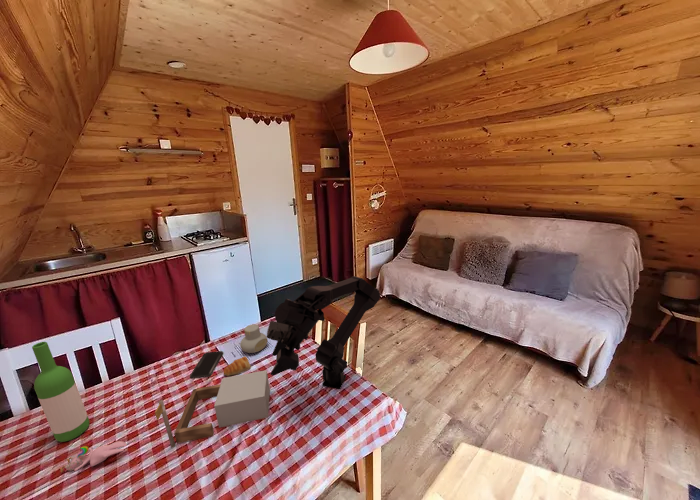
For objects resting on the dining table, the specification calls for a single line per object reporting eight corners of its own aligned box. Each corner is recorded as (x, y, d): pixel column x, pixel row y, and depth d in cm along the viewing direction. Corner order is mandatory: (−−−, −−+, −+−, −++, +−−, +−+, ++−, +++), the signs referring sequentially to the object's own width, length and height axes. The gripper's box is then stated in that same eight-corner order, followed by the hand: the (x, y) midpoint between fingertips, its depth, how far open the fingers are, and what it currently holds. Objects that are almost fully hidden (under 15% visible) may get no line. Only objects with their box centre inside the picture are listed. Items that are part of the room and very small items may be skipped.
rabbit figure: (59, 483, 75) (121, 462, 77) (47, 466, 73) (111, 445, 75) (76, 460, 81) (134, 441, 82) (65, 444, 79) (124, 425, 81)
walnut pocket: (225, 392, 100) (217, 354, 96) (209, 448, 80) (198, 403, 76) (191, 398, 99) (182, 360, 94) (166, 457, 78) (153, 411, 74)
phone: (223, 350, 123) (210, 375, 108) (224, 353, 123) (210, 377, 109) (204, 352, 122) (188, 377, 108) (204, 355, 123) (188, 379, 108)
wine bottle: (63, 427, 90) (28, 341, 82) (94, 417, 93) (64, 333, 85) (50, 448, 83) (11, 356, 75) (84, 437, 86) (50, 347, 78)
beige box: (270, 390, 101) (266, 370, 98) (268, 417, 89) (264, 396, 87) (226, 398, 98) (222, 378, 96) (219, 428, 87) (214, 406, 84)
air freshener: (251, 358, 118) (248, 336, 115) (237, 353, 122) (233, 331, 119) (271, 344, 127) (268, 323, 124) (258, 339, 131) (254, 319, 128)
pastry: (227, 380, 106) (225, 371, 105) (221, 372, 111) (219, 363, 110) (252, 368, 112) (250, 360, 111) (245, 360, 117) (244, 352, 116)
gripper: (280, 299, 96) (253, 335, 98) (278, 331, 78) (245, 375, 80) (308, 315, 99) (281, 350, 101) (312, 349, 82) (280, 390, 84)
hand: (272, 364), depth 92 cm, fingers open, 9 cm apart
